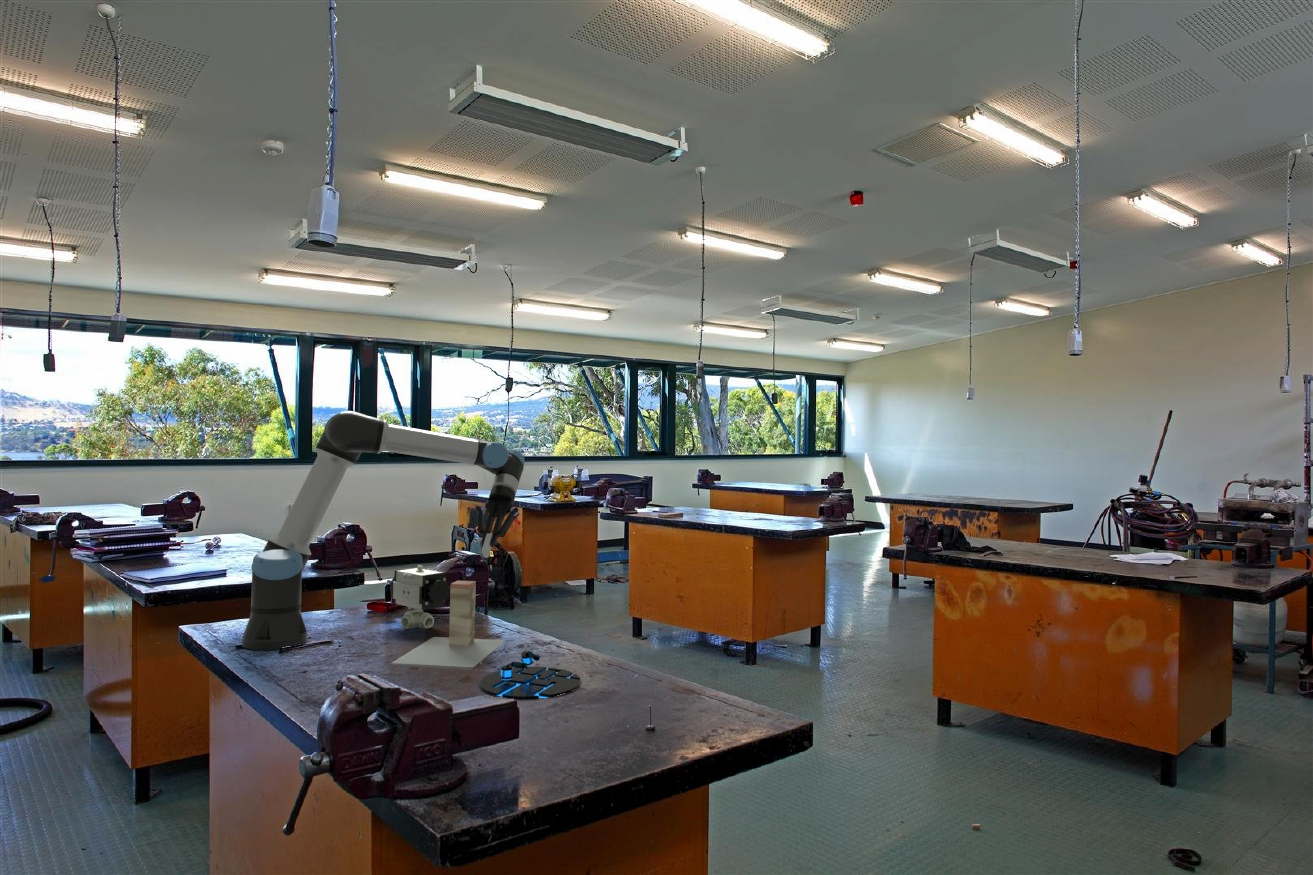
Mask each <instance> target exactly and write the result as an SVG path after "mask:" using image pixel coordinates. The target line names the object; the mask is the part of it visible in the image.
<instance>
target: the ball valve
mask: <svg viewBox="0 0 1313 875" xmlns="http://www.w3.org/2000/svg"><path fill="white" fill-rule="evenodd" d="M446 580H447V578H446V572H442V571H436V570H431V569H425V568H424V566H423V565H421V564H420V565H419V564H418V565H417V567H411V568H404V569H402V568H401V569H396V570H394V576H393V578H391V581H390V586H389V587H390V598H391V599H393V604H395V605H399V606H402V607H403V606H405V607H407V610H409V611H406V612H405V613H404V615H402V617H401V621H400V623H401V624H400V625H401V627H402V628H403V629H406V630H408V629H409V630H410V629H416V628H418V629H425V630H426V629H430V628H432V627H433V625H434V623H435V619H434V617H433V615H431V613H428V612H426V610H432V609H437V608H442V607H445V606H446V602H445V601H446V600H447V599H448V597H449V595H450V586H449V584H448V582H447V581H446ZM411 609H412V610H411Z"/></svg>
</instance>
